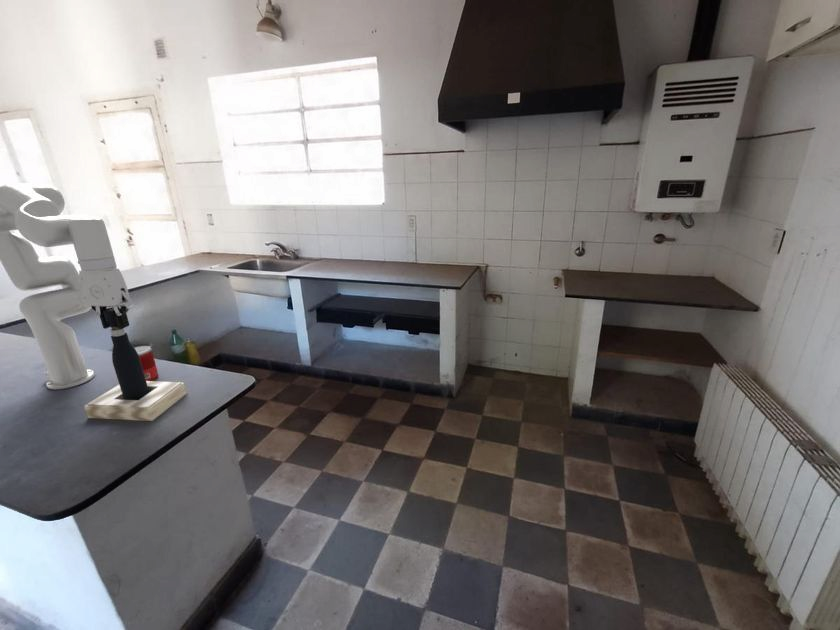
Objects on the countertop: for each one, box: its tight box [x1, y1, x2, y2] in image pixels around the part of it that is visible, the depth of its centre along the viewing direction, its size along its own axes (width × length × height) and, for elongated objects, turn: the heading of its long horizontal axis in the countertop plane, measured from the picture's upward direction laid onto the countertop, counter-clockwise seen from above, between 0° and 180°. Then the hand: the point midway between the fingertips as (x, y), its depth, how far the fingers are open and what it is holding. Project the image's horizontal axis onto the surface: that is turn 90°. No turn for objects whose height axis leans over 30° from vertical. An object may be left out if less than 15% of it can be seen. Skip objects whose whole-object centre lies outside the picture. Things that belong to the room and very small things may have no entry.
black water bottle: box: [103, 307, 149, 400], centre depth 113 cm, size 6×6×30 cm
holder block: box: [84, 380, 188, 422], centre depth 117 cm, size 20×15×4 cm
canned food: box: [134, 345, 159, 381], centre depth 132 cm, size 8×8×11 cm
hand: (116, 326), depth 109 cm, fingers closed on black water bottle, 3 cm apart
